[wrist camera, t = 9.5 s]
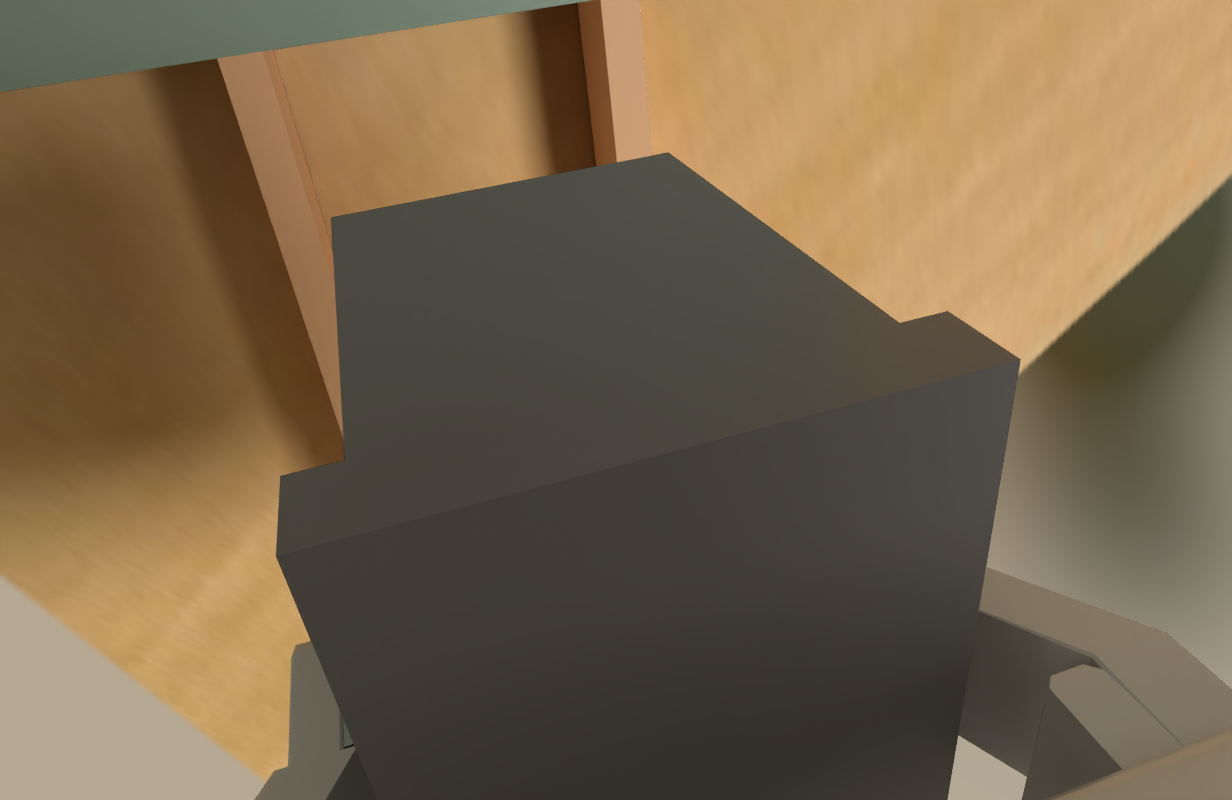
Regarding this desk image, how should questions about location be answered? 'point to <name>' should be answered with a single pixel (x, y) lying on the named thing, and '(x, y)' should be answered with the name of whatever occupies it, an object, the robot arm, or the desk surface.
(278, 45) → the green panel with knob
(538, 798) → the grey stepped block
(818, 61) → the desk surface
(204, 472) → the desk surface
